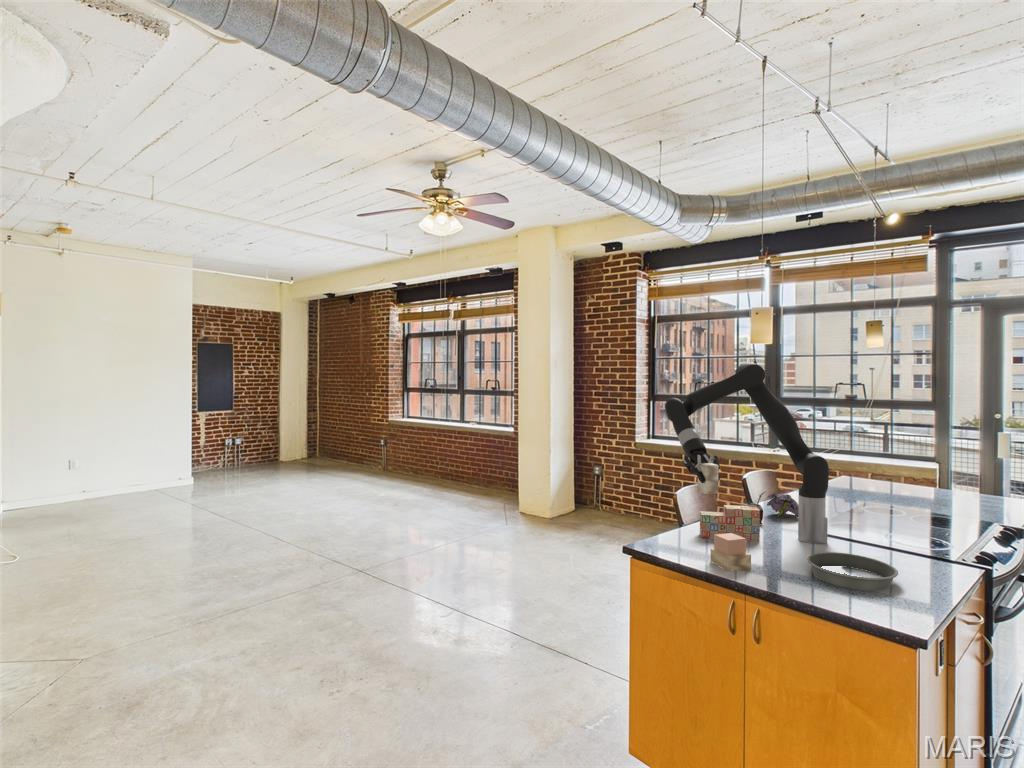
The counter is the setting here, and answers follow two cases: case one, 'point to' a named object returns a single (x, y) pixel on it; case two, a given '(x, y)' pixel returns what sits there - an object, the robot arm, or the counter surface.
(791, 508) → the decorative flower
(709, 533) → the stack of blocks
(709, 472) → the pillar
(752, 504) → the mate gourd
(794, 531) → the counter surface
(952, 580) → the counter surface
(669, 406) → the robot arm
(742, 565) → the tower base
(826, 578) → the cake pan
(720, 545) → the tower top
